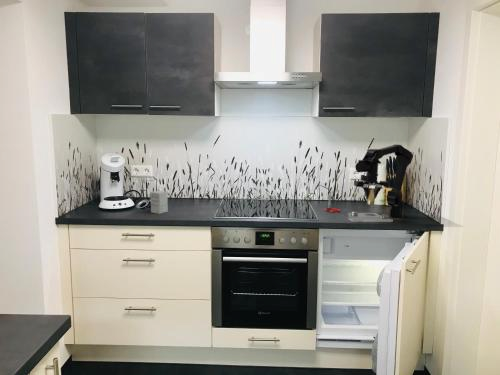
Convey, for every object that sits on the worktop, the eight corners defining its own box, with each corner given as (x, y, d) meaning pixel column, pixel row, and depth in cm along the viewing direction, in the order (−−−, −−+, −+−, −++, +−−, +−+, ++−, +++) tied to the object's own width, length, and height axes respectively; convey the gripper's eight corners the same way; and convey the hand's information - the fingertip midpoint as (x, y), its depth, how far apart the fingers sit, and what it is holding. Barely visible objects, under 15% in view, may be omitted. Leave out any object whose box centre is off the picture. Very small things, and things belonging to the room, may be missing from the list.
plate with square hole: (386, 218, 237) (386, 210, 237) (392, 222, 227) (393, 214, 227) (347, 217, 237) (347, 210, 236) (352, 221, 227) (352, 214, 226)
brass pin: (372, 203, 233) (373, 188, 231) (375, 204, 229) (376, 189, 227) (366, 203, 233) (366, 187, 231) (368, 204, 229) (369, 189, 227)
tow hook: (332, 209, 262) (322, 210, 257) (333, 189, 261) (324, 190, 255) (342, 211, 256) (333, 213, 250) (344, 191, 254) (334, 192, 248)
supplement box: (159, 210, 252) (158, 190, 250) (168, 211, 248) (167, 191, 246) (150, 212, 245) (150, 191, 244) (159, 213, 242) (159, 193, 240)
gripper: (383, 170, 236) (382, 196, 238) (352, 170, 236) (350, 196, 238) (390, 172, 225) (389, 199, 227) (357, 172, 225) (356, 199, 227)
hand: (370, 198), depth 230 cm, fingers closed on brass pin, 4 cm apart
